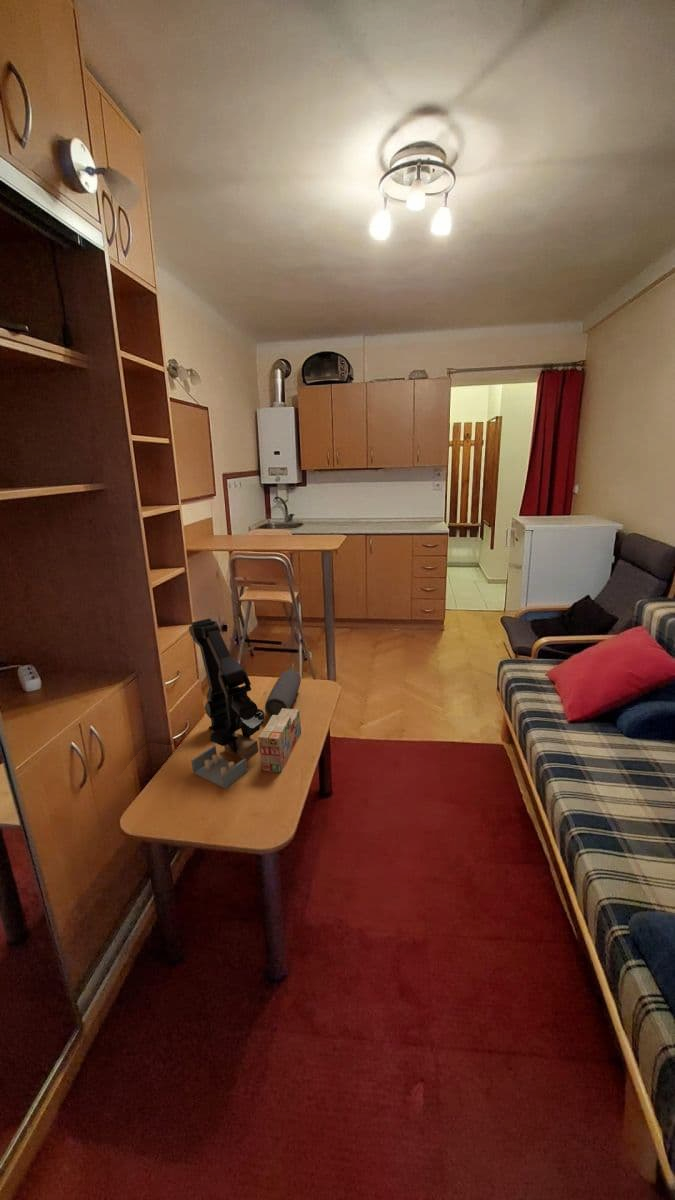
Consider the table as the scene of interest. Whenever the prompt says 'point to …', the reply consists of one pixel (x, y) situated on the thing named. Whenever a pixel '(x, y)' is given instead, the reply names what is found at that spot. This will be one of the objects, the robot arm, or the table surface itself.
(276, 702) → the bluetooth speaker
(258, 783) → the table surface
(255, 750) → the brown rectangular block
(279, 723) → the stack of blocks
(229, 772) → the cradle
